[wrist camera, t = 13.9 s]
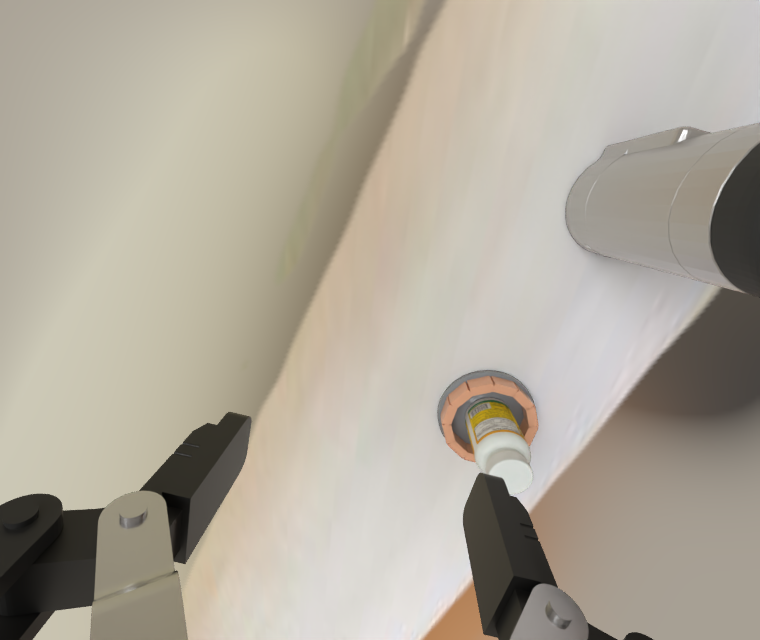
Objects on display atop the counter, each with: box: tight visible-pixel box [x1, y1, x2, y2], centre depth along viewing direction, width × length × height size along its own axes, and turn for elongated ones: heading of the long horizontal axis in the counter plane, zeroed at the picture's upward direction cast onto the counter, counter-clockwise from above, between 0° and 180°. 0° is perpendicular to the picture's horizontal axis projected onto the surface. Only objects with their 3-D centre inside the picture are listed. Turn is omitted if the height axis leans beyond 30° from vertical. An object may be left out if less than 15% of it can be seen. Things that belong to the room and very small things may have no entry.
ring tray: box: [438, 370, 538, 462], centre depth 41 cm, size 11×11×3 cm
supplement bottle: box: [465, 398, 533, 495], centre depth 37 cm, size 5×5×10 cm
